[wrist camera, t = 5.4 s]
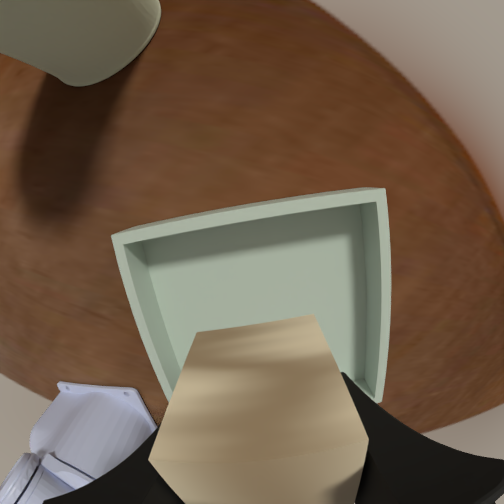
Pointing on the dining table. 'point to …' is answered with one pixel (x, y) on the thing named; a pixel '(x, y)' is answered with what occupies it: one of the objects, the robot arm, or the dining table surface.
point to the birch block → (261, 420)
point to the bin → (266, 277)
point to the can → (77, 35)
